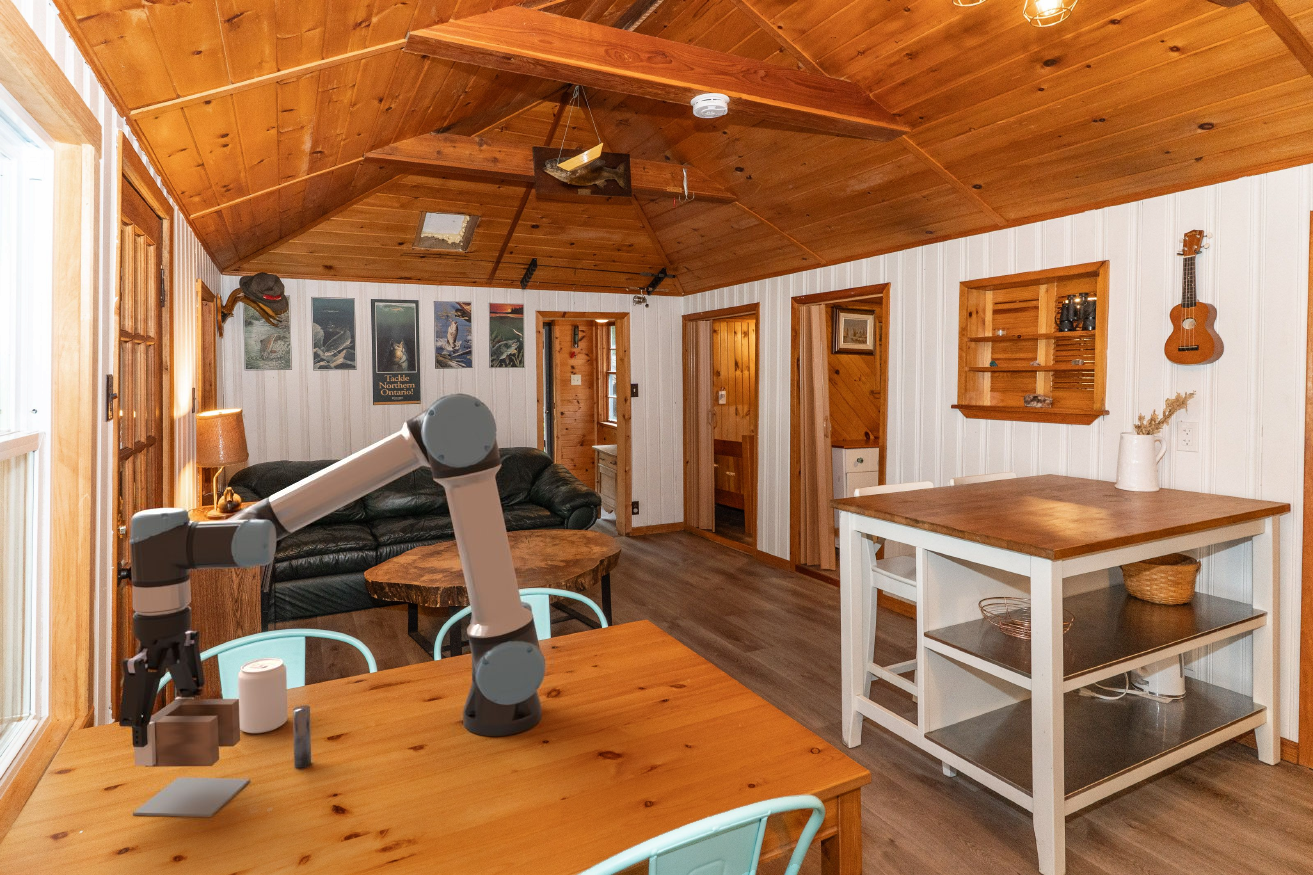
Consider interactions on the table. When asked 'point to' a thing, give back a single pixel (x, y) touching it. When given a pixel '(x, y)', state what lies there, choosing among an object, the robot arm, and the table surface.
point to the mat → (192, 797)
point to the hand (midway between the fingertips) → (166, 749)
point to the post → (302, 737)
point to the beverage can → (262, 695)
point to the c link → (195, 731)
